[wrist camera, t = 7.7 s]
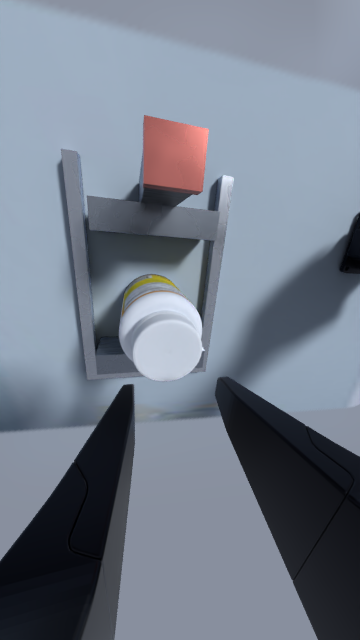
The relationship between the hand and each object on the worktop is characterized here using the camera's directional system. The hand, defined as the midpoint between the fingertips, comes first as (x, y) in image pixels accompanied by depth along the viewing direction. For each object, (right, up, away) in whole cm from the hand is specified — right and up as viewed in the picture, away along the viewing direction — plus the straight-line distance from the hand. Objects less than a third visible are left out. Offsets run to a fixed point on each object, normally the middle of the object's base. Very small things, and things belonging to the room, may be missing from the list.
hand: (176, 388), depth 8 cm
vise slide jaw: (-2, +12, +9) cm, 15 cm away
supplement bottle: (-3, +5, +12) cm, 13 cm away
